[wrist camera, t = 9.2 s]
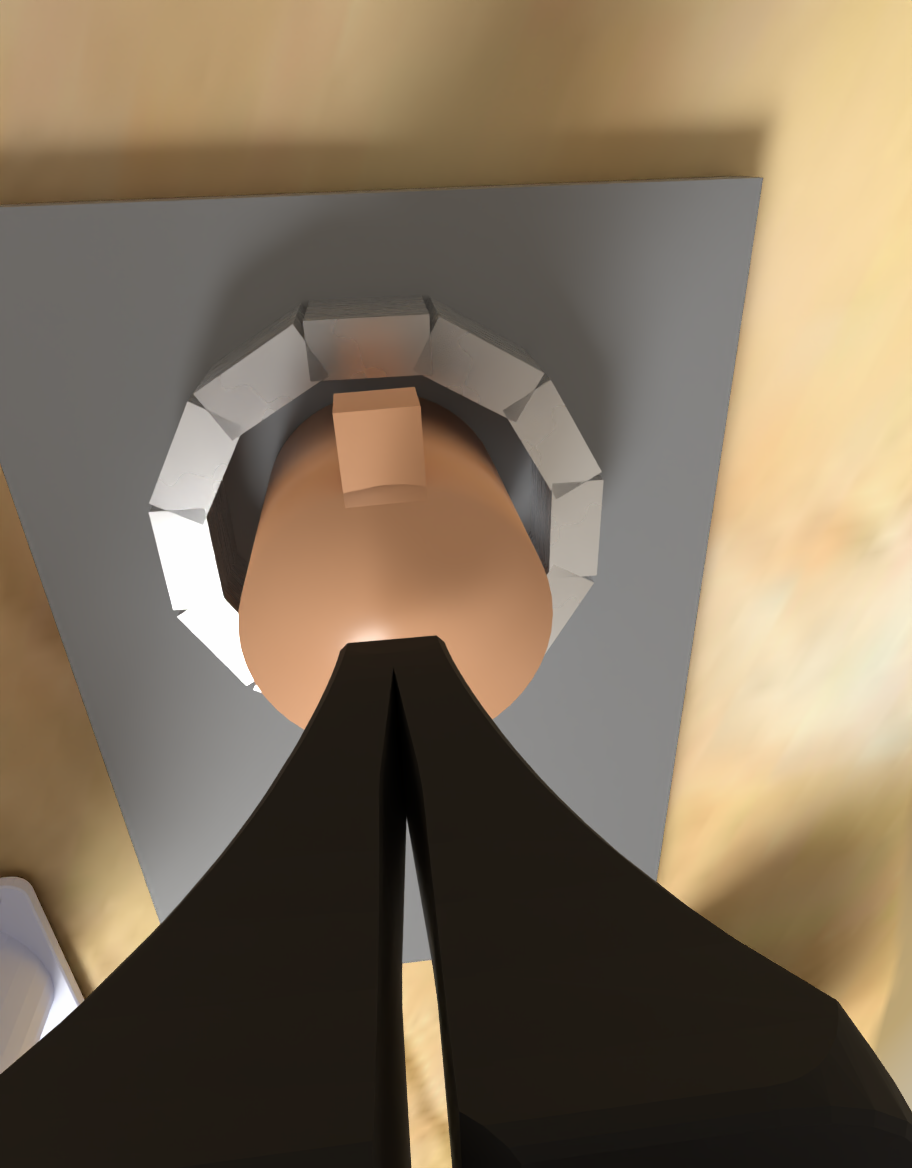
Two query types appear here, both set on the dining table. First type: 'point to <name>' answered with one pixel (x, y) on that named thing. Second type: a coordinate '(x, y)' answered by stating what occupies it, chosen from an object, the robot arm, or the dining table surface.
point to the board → (260, 297)
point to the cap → (390, 553)
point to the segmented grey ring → (354, 351)
